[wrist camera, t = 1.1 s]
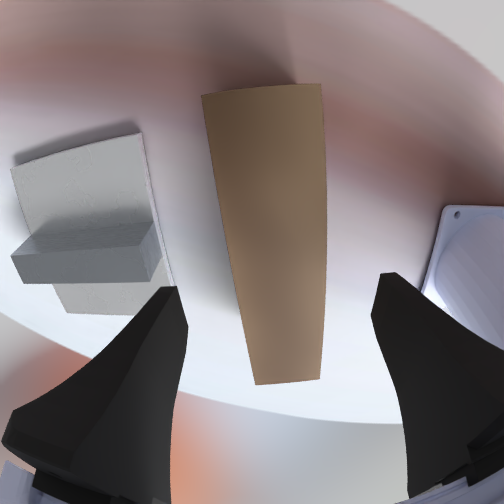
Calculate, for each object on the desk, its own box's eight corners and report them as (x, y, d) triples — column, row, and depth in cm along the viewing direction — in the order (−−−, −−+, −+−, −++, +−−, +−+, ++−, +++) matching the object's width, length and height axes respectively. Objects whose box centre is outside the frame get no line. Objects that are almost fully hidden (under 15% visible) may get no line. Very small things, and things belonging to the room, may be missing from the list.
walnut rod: (297, 83, 12) (320, 83, 8) (308, 316, 19) (319, 379, 15) (219, 91, 12) (201, 95, 8) (255, 321, 19) (255, 385, 15)
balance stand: (141, 132, 13) (115, 146, 10) (181, 309, 18) (172, 344, 16) (16, 166, 13) (-16, 184, 10) (70, 307, 19) (53, 336, 16)
